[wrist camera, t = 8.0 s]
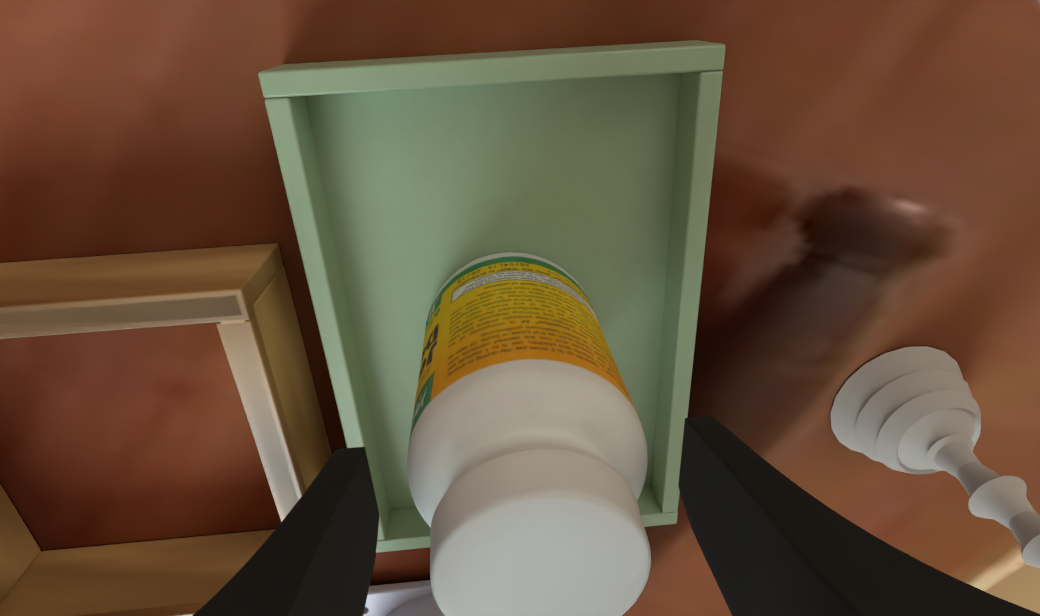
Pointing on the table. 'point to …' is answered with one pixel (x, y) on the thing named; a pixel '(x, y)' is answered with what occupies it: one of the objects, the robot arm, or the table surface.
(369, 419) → the tray
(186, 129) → the table surface
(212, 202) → the table surface
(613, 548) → the supplement bottle
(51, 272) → the brown wooden square frame
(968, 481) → the chalice
